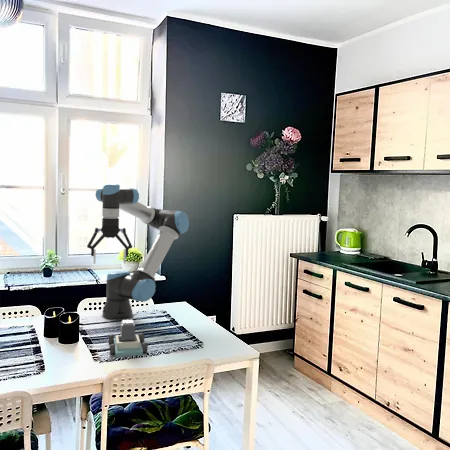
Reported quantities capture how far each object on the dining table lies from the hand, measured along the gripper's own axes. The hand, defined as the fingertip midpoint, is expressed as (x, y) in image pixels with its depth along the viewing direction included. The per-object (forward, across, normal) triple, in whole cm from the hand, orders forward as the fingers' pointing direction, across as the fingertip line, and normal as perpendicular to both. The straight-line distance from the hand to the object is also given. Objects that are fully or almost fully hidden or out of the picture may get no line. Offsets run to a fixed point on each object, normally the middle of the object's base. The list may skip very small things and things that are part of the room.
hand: (109, 263), depth 220 cm
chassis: (+32, +7, -25) cm, 41 cm away
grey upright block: (+30, +7, -25) cm, 40 cm away
